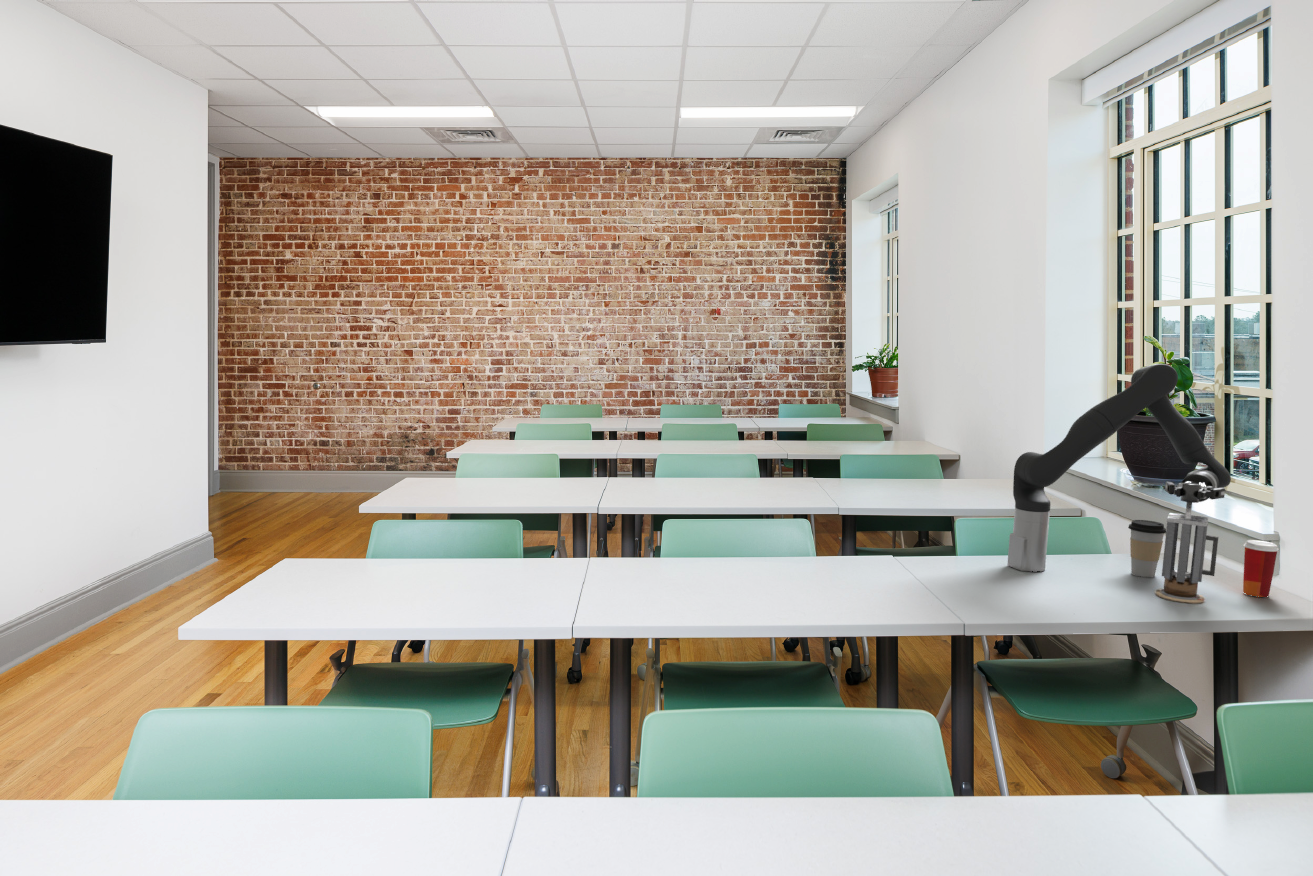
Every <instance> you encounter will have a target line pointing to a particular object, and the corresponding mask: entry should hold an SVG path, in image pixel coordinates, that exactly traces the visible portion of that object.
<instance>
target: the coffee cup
mask: <svg viewBox="0 0 1313 876" xmlns="http://www.w3.org/2000/svg"><path fill="white" fill-rule="evenodd" d="M1128 529H1129V530H1130V539H1129V541H1130V548H1129V549H1130V562H1131V564H1130V565H1131V574H1132V575H1133V576H1135V577H1140V576H1141V577H1140V578H1148V577H1151V578H1154V577H1155V576H1156V573H1157V567H1158V564H1159V563H1158V562H1159V560H1160V557H1161V551H1162V547H1163V542H1164V541H1163V539H1164V534H1166V529H1167V528H1165V525H1164V523H1161V522H1158V521H1153V520H1145V519H1133V520H1131V523H1129V524H1128Z"/></svg>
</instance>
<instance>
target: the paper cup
mask: <svg viewBox="0 0 1313 876" xmlns="http://www.w3.org/2000/svg"><path fill="white" fill-rule="evenodd" d="M1242 547H1244V557H1243V558H1244V559H1243V561H1244V562H1243V578H1242V579H1243V580H1242V581H1243V582H1242V587H1243V588H1242V593H1243V592H1244V593H1246V594H1247V595H1246V596H1248V595H1252V596H1257V597H1256V598H1258V596H1259V597H1267V596H1268V597H1269V596H1270V591H1271V587H1272V581H1273V577H1274V572H1275V566H1276V560H1277V555H1278V552H1279V551H1280V549H1279V548H1278V545H1277V544H1276V543H1274V542H1271V541H1270V542H1269V541H1266V540H1257V539H1248V540H1246V541H1245V542H1244V543H1243V546H1242ZM1244 593H1243V594H1244ZM1252 596H1251V597H1252ZM1268 597H1267V598H1268Z"/></svg>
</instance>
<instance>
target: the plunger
mask: <svg viewBox="0 0 1313 876" xmlns="http://www.w3.org/2000/svg"><path fill="white" fill-rule="evenodd" d="M1199 490H1200V485H1199V484H1194V483H1182V491H1181V496H1180V501H1181V502H1185V503H1186V505H1185V518H1187V519H1191V515H1192V508H1193V503H1195V504H1197V503H1200V502H1199V499H1197V496H1198V491H1199ZM1190 574H1191V571H1188V570H1187V571H1186V574H1185V579H1190ZM1172 577H1175V578H1177V569H1174V570H1173V572H1172Z"/></svg>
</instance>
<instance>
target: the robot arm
mask: <svg viewBox="0 0 1313 876" xmlns="http://www.w3.org/2000/svg"><path fill="white" fill-rule="evenodd" d="M1178 381H1179V376H1178V373H1177V371H1176V369H1175V368H1174V367H1173V366H1171V365H1169V364H1166V363H1154V364H1149V365H1146V366H1142V367H1140V368H1138V369H1137V370H1135V371H1134V372H1133V373H1132V376H1131V378H1130V384H1131V385H1130V386H1128V387H1127V388H1126V389H1124V390H1122V391H1120V392H1119V393H1117V394H1115V395H1113V396H1110V397H1109V398H1107V399H1105V400H1103V401H1101V402H1099V403H1098V404H1096V405H1094V406H1093V407H1091V408H1090V409H1088V410H1087V411H1086V412H1084V413H1082V415H1081V416H1080V417H1078V418H1077V419H1076V420H1075V421H1074V422H1073V423H1072V425H1071V426H1070V428H1069V430H1068V432H1067V434H1066V435H1065V437H1064V438H1063V439H1062V440H1061V442H1059V443H1058V444H1057V445H1055V446H1054V447H1053V448H1051V449H1050V450H1049V451H1047V452H1045V453H1039V452H1034V451H1027V452H1024V453H1022V454H1021V455H1019V457H1018V458H1017V459H1016V461H1015V464H1014V468H1013V469H1014V470H1013V480H1012V481H1013V483H1012V487H1013V488H1012V489H1013V490H1012V495H1013V498H1014V504H1015V505H1014V516H1013V517H1014V518H1013V525H1012V526H1013V528H1012V532H1010V534H1009V540H1008V550H1007V551H1008V553H1007V566H1008V567H1011V568H1013V569H1015V570H1018V571H1020V572H1032V571H1033V572H1034V573H1035V572H1036V573H1038V572H1037V571H1040V572H1044V571H1045V570H1046V560H1047V550H1048V539H1049V538H1048V537H1049V525H1050V516H1051V515H1050V513H1051V501H1050V499H1049V498H1048V496H1047V494H1046V493H1045V492H1046V491H1045V488H1046V487H1047V488H1048V487H1049V486H1051V485H1053V484H1054V483H1055V482H1056V481H1058V480H1059V479H1060V478H1061V477H1062V476H1063V475H1064V474H1065V473H1066V472H1067V471H1069V469H1071V467H1073V466H1074V465H1075V464H1076V463H1077V462H1079V460H1081V459H1082V458H1084V457H1085V456H1086V455H1088V454H1089V453H1090V452H1091V451H1093V450H1094V449H1095V448H1096V447H1098V446H1099V445H1101V444H1102V443H1104V442H1106V440H1108V439H1109V438H1111V437H1112V436H1113V435H1114V434H1115V433H1117V432H1118V431H1119V430H1120V429H1121V428H1122V427H1124V426H1125V425H1126V424H1128V422H1130V421H1132V420H1133V419H1134V417H1136V416H1137V415H1138V414H1139V413H1141V412H1142V411H1143V410H1145V409H1148V410H1149V412H1150V413H1151V414H1152V415H1153V418H1154V419H1156V421H1157V422H1158V424H1159V426H1161V428H1162V430H1163V431H1164V432H1165V435H1166V436H1167V437H1168V439H1169V441H1170V443H1171V445H1172V446H1173V448H1174V450H1175V451H1176V453H1177V455H1178V456H1179V459H1180V460H1181V462H1182V463H1184V464H1185V465H1189V464H1190V465H1192V464H1204V465H1205V466H1204V467H1202V468H1198V469H1196V470H1195V469H1194V470H1193V471H1189V472H1188V473H1187V474H1186V476H1185V477H1184V478H1183V479H1182V481H1181V482H1178V483H1177V484H1175V483H1174V482H1171V481H1168V480H1167V481H1165V488H1164V489H1165V492H1167V494H1168V495H1174V496H1176V497H1178V498H1181V491H1182V483H1194V484H1199V485H1200V490H1199V491H1198V496H1197V499H1199V502H1198V503H1201V502H1205V501H1207V500H1209V499H1210V500H1217V499H1218V500H1219V499H1224V498H1225V495H1226V487H1228V486H1229V485H1230V484H1231V481H1232V477H1231V474H1230V472H1229V471H1228V469H1227V468H1226V467H1225V466H1224V465H1223V464H1221V463H1220V462H1219V461H1218V459H1216V458H1215V456H1213V454H1211V452H1210V451H1209V449H1208V448H1207V447H1206V445H1205V442H1204V440H1203V439H1202V438H1201V435H1200V434H1199V432H1198V430H1197V429H1196V428H1195V426H1194V425H1193V424H1192V423H1191V422H1190V421H1189V420H1188V419H1187V418H1186V417H1185V416H1183V414H1181V412H1179V411H1178V409H1176V407H1175V406H1174V405H1173V403H1172V401H1171V400H1170V398H1169V397H1168V394H1170V393H1172V392H1173V391H1174V390H1175V388H1176V386H1177V385H1178V384H1177V383H1178Z"/></svg>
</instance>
